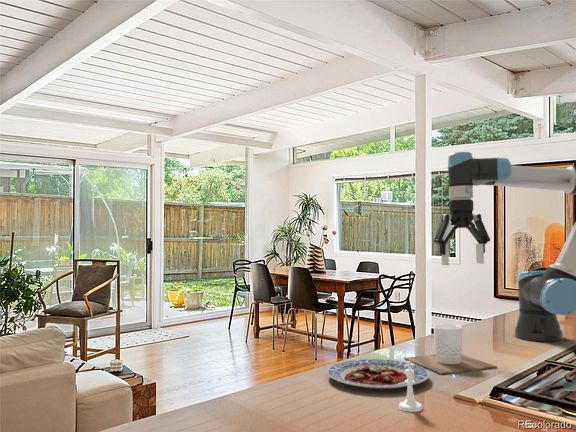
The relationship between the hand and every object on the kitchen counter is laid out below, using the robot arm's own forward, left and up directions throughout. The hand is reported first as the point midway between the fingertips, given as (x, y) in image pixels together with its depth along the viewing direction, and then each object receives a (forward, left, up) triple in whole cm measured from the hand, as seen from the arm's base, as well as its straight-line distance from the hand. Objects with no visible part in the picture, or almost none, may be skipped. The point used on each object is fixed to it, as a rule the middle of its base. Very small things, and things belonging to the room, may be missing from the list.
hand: (463, 264), depth 168 cm
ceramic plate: (+44, +22, -27) cm, 56 cm away
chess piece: (+48, +44, -27) cm, 70 cm away
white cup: (+18, +16, -26) cm, 36 cm away
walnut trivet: (+18, +16, -27) cm, 36 cm away
